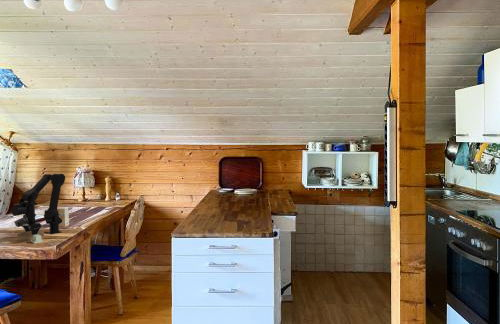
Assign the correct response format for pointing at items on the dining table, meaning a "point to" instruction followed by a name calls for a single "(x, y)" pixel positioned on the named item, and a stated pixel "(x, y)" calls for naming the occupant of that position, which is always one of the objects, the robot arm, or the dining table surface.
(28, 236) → the brown rectangular block
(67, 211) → the supplement box
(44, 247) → the dining table surface
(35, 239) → the fulcrum
